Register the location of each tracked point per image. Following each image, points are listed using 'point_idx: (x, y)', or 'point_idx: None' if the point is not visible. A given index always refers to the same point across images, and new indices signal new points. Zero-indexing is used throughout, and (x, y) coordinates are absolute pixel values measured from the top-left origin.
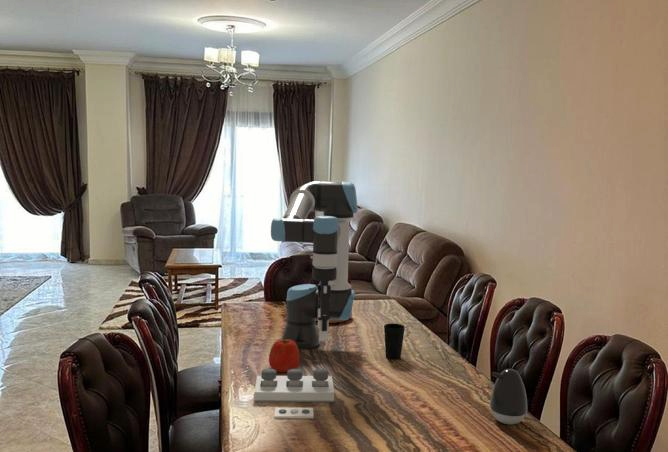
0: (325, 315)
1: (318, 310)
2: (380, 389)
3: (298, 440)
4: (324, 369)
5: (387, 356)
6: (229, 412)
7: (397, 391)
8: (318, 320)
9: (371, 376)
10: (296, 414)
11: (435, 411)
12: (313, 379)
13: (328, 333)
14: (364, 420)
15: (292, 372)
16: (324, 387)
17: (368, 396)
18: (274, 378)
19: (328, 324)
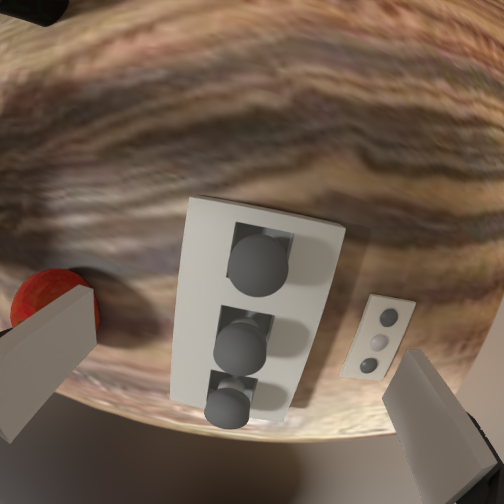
0: (22, 349)
1: (16, 432)
2: (262, 53)
3: (471, 339)
4: (235, 248)
5: (52, 20)
6: (320, 438)
7: (287, 18)
8: (62, 375)
9: (151, 58)
10: (393, 339)
11: (419, 8)
12: (213, 268)
13: (445, 383)
14: (453, 182)
15: (248, 364)
16: (294, 249)
17: (313, 104)
18: (244, 395)
19: (478, 435)
